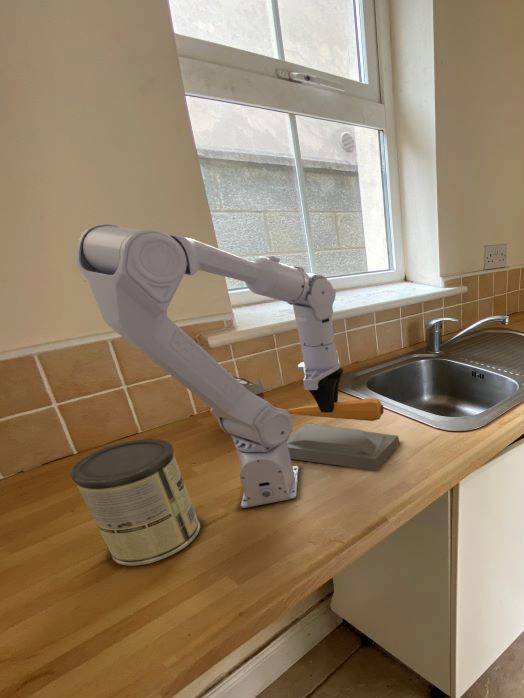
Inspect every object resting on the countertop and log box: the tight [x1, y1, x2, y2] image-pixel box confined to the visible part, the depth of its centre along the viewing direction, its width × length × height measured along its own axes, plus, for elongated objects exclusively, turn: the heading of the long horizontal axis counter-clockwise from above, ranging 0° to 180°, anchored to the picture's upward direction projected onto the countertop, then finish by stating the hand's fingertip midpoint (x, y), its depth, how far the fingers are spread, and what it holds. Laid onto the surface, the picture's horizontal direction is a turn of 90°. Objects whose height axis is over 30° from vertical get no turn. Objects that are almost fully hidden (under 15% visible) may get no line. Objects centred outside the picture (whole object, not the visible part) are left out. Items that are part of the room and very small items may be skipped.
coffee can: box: [69, 438, 201, 567], centre depth 62 cm, size 10×10×14 cm
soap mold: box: [287, 423, 400, 471], centre depth 88 cm, size 10×20×4 cm, turn 82°
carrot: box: [285, 397, 384, 422], centre depth 86 cm, size 20×4×4 cm, turn 96°
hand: (329, 408), depth 86 cm, fingers closed on carrot, 2 cm apart
